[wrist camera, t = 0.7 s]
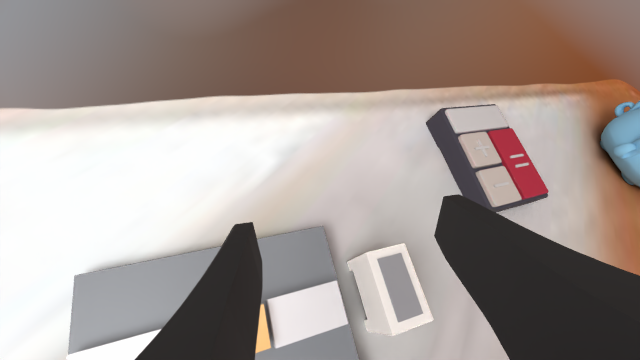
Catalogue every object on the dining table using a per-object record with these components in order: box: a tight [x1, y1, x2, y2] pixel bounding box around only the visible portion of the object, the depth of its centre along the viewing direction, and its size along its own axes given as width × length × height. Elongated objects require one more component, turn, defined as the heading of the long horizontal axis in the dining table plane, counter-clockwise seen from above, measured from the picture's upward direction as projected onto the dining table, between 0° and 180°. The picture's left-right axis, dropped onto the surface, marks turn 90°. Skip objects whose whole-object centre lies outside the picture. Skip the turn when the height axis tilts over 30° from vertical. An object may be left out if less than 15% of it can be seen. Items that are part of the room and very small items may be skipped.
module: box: [347, 243, 434, 336], centre depth 24 cm, size 6×4×5 cm, turn 15°
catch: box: [255, 304, 271, 353], centre depth 19 cm, size 3×6×1 cm, turn 105°
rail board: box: [67, 226, 359, 360], centre depth 21 cm, size 14×20×3 cm
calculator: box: [426, 104, 548, 212], centre depth 37 cm, size 11×4×15 cm
